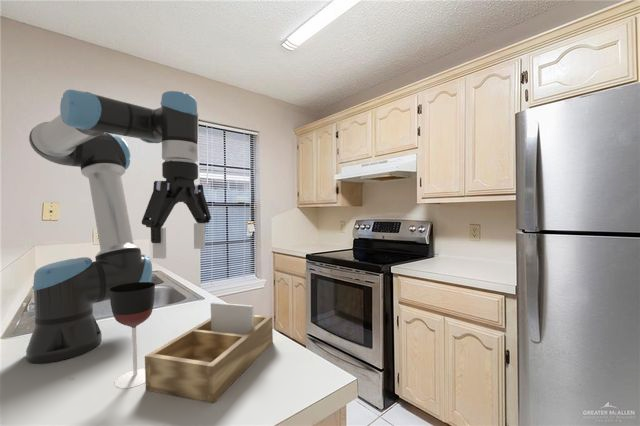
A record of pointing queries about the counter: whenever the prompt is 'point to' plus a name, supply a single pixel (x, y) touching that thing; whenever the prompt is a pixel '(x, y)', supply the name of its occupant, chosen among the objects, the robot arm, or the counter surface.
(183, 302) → the counter surface
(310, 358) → the counter surface
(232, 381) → the wooden divided tray
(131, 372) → the wineglass
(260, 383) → the counter surface
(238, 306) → the white flat panel
